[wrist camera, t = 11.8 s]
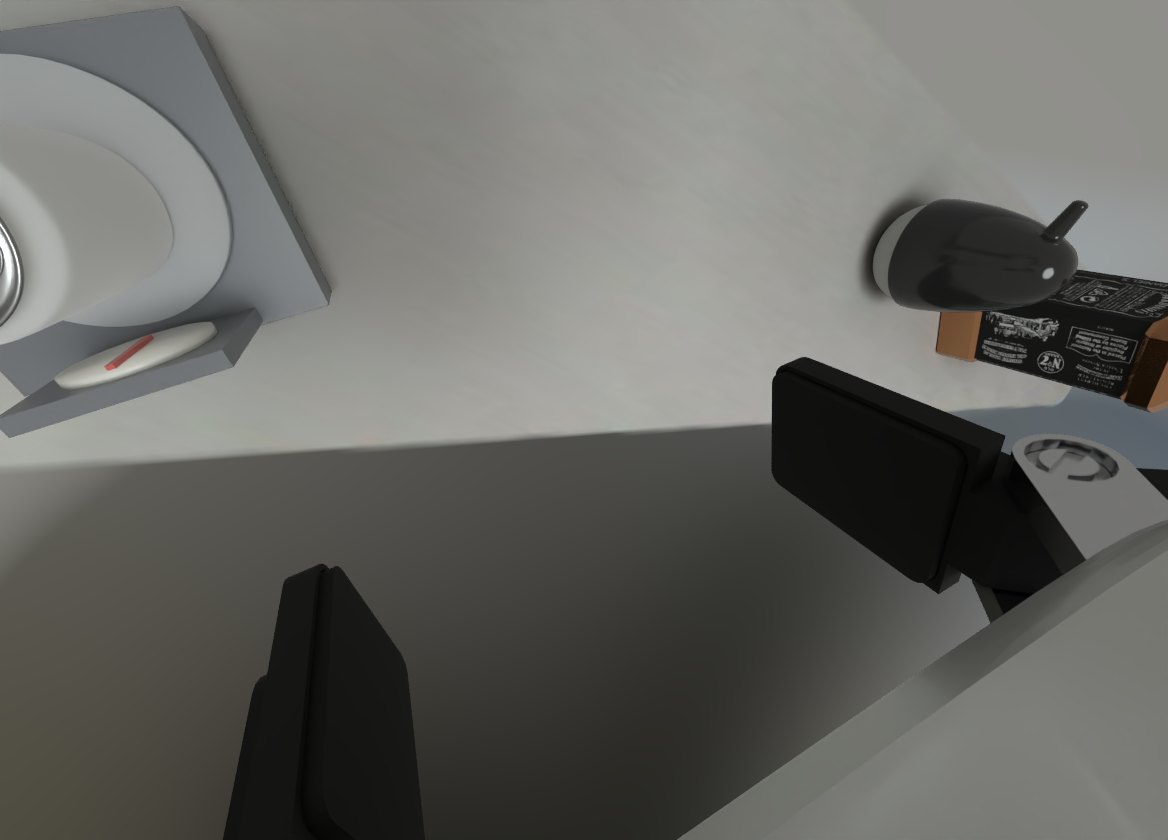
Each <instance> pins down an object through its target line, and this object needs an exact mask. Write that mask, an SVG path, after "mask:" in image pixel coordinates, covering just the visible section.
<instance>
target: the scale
mask: <svg viewBox="0 0 1168 840" xmlns="http://www.w3.org/2000/svg"><path fill="white" fill-rule="evenodd" d="M0 122H4V123H10V124H16V125H22V126H27V127H33V128H39V129H45V130H50V131H56V132H60V133H65V134H69V135H73V136H77V137H80V138H83V139H86V140H88V141H91V142H93V143H96V144H98V145H100V146H102V147H104V148H106V149H108V150H110V151H112V152H113V153H115V154H117V155H118V156H120V157H121V158H123V159H124V160H126V161H127V162H128V163H130V164H131V165H132V166H133V167H134V168H136V169H137V170H138V171H139V172H140V173H141V174H142V175H143V176H144V177H145V178H146V179H147V180H148V181H149V182H150V183H151V185H152V186H153V187H154V189H155V190H156V191H157V193H158V194H159V196H160V198H161V200H162V202H163V204H164V206H165V208H166V210H167V213H168V215H169V218H170V222H171V226H172V232H173V243H172V247H171V250H170V253H169V255H168V257H167V259H166V261H165V262H164V264H163V265H162V266H161V267H160V269H159V270H158V271H157V272H155V273H154V274H153V275H152V276H150V277H149V278H147V279H145V280H144V281H142V282H140V283H138V284H136V285H134V286H132V287H130V288H128V289H126V290H124V291H122V292H120V293H118V294H116V295H114V296H112V297H110V298H108V299H106V300H104V301H102V302H100V303H98V304H96V305H94V306H91V307H89V308H87V309H85V310H83V311H81V312H79V313H77V314H75V315H73V316H71V317H68V318H66V319H64V320H62V321H60V322H58V323H56V324H54V325H51V326H49V327H47V328H45V329H43V330H41V331H38V332H36V333H34V334H31V335H29V336H26V337H24V338H21V339H19V340H16V341H13V342H9V343H5V344H2V345H0V371H1V372H2V373H3V374H4V375H5V377H6V378H7V379H8V380H9V381H10V382H11V383H12V384H13V385H14V386H15V387H16V388H17V389H18V390H19V391H20V392H21V393H22V394H23V395H24V396H28V395H30V396H28V397H27V398H25V399H24V400H22V401H21V402H19V403H18V404H16V405H15V406H13V407H12V408H10V409H9V410H7V411H6V412H4V413H3V414H1V415H0V429H1V430H2V431H3V432H4V433H5V434H6V435H7V436H8V437H9V438H11V437H14V436H18V435H21V434H24V433H27V432H30V431H33V430H36V429H40V428H43V427H46V426H49V425H52V424H55V423H59V422H62V421H65V420H68V419H71V418H74V417H77V416H81V415H84V414H87V413H90V412H93V411H96V410H99V409H103V408H106V407H109V406H112V405H115V404H118V403H122V402H125V401H128V400H131V399H134V398H137V397H140V396H144V395H147V394H150V393H153V392H156V391H159V390H163V389H166V388H169V387H172V386H175V385H178V384H181V383H185V382H188V381H191V380H194V379H197V378H200V377H204V376H207V375H210V374H213V373H216V372H219V371H222V370H226V369H229V368H232V367H234V365H235V364H236V362H237V361H238V359H239V357H240V356H241V354H242V353H243V351H244V350H245V348H246V347H247V345H248V344H249V342H250V340H251V339H252V337H253V336H254V334H255V333H256V331H257V330H258V328H259V327H260V326H261V325H264V324H267V323H271V322H274V321H277V320H281V319H284V318H287V317H291V316H294V315H297V314H300V313H304V312H307V311H310V310H314V309H317V308H320V307H324V306H327V305H329V301H330V296H331V290H330V288H329V285H328V283H327V281H326V279H325V277H324V275H323V273H322V271H321V269H320V267H319V265H318V263H317V261H316V259H315V257H314V255H313V253H312V251H311V249H310V247H309V245H308V243H307V241H306V239H305V237H304V235H303V233H302V231H301V228H300V226H299V224H298V222H297V220H296V218H295V216H294V214H293V212H292V210H291V208H290V206H289V204H288V202H287V200H286V198H285V196H284V194H283V192H282V190H281V188H280V186H279V184H278V182H277V180H276V178H275V176H274V174H273V172H272V169H271V167H270V165H269V163H268V161H267V159H266V157H265V155H264V153H263V151H262V149H261V147H260V145H259V143H258V141H257V139H256V137H255V135H254V133H253V131H252V129H251V127H250V125H249V123H248V121H247V119H246V117H245V115H244V113H243V110H242V108H241V106H240V104H239V102H238V100H237V98H236V96H235V94H234V92H233V90H232V88H231V86H230V84H229V82H228V80H227V78H226V76H225V74H224V72H223V70H222V68H221V66H220V64H219V62H218V60H217V58H216V56H215V53H214V51H213V49H212V47H211V45H210V43H209V41H208V39H207V37H206V35H205V33H204V31H203V29H202V28H201V27H200V26H198V25H197V24H196V23H195V22H194V21H193V20H192V19H191V18H190V17H189V16H188V15H187V14H186V13H185V12H184V11H183V10H182V9H181V8H180V7H179V6H176V7H169V8H162V9H155V10H148V11H141V12H134V13H126V14H119V15H112V16H105V17H98V18H91V19H84V20H77V21H70V22H63V23H55V24H48V25H41V26H34V27H27V28H20V29H13V30H6V31H0Z"/></svg>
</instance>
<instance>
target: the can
mask: <svg viewBox="0 0 1168 840" xmlns="http://www.w3.org/2000/svg"><path fill="white" fill-rule="evenodd" d="M172 243H173V232H172V226H171V222H170V218H169V215H168V213H167V210H166V208H165V206H164V204H163V202H162V200H161V198H160V196H159V194H158V193H157V191H156V190H155V189H154V187H153V186H152V185H151V183H150V182H149V181H148V180H147V179H146V178H145V177H144V176H143V175H142V174H141V173H140V172H139V171H138V170H137V169H136V168H134V167H133V166H132V165H131V164H130V163H128V162H127V161H126V160H124V159H123V158H121V157H120V156H118V155H117V154H115V153H113V152H112V151H110V150H108V149H106V148H104V147H102V146H100V145H98V144H96V143H93V142H91V141H88V140H86V139H83V138H80V137H77V136H73V135H69V134H65V133H60V132H56V131H50V130H45V129H39V128H33V127H27V126H22V125H16V124H10V123H4V122H0V345H2V344H5V343H9V342H13V341H16V340H19V339H21V338H24V337H26V336H29V335H31V334H34V333H36V332H38V331H41V330H43V329H45V328H47V327H49V326H51V325H54V324H56V323H58V322H60V321H62V320H64V319H66V318H68V317H71V316H73V315H75V314H77V313H79V312H81V311H83V310H85V309H87V308H89V307H91V306H94V305H96V304H98V303H100V302H102V301H104V300H106V299H108V298H110V297H112V296H114V295H116V294H118V293H120V292H122V291H124V290H126V289H128V288H130V287H132V286H134V285H136V284H138V283H140V282H142V281H144V280H145V279H147V278H149V277H150V276H152V275H153V274H154V273H155V272H157V271H158V270H159V269H160V267H161V266H162V265H163V264H164V262H165V261H166V259H167V257H168V255H169V253H170V250H171V247H172Z"/></svg>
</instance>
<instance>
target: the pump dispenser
mask: <svg viewBox="0 0 1168 840" xmlns="http://www.w3.org/2000/svg"><path fill="white" fill-rule="evenodd" d="M1087 208H1088V204H1087V203H1086V202H1084V201H1080V200H1077V201H1074V202H1072V203H1071V204H1070V205H1069V206H1068V207H1067V208H1066V209H1065V210H1064V211H1063V212H1062V213H1061V214H1060V215H1059V216H1058V217H1057V218H1056V219H1055V220H1054V221H1053V222H1052V223H1051V224H1050V225H1049V226H1048V227H1047V226H1045V225H1043V224H1041V223H1039V222H1037V221H1035V220H1033V219H1031V218H1029V217H1027V216H1024V215H1022V214H1019V213H1016V212H1013V211H1010V210H1007V209H1004V208H1001V207H997V206H993V205H989V204H984V203H979V202H973V201H967V200H960V199H941V200H937V201H934V202H932V203H930V204H927V205H923V206H920V207H917V208H914V209H912V210H910V211H908V212H906V213H905V214H903V215H902V216H900V217H899V218H898V219H896V220H895V221H894V222H893V223H892V224H891V225H890V226H889V227H888V228H887V230H886V231H885V232H884V234H883V235H882V237H881V239H880V241H879V243H878V245H877V247H876V250H875V254H874V258H873V274H874V278H875V280H876V283H877V285H878V286H879V288H880V289H881V290H882V291H883V292H884V293H885V294H886V295H887V296H889V297H890V298H892V299H893V300H894V301H895V302H896V303H897V304H899V305H900V306H903V307H907V308H911V309H917V310H925V311H935V312H952V313H967V312H984V311H995V310H1003V309H1010V308H1016V307H1021V306H1026V305H1030V304H1034V303H1037V302H1041V301H1044V300H1046V299H1049V298H1051V297H1053V296H1054V295H1056V294H1058V293H1059V292H1060V291H1062V290H1063V289H1064V288H1065V287H1066V286H1067V285H1068V284H1069V283H1070V281H1071V280H1072V279H1073V277H1074V275H1075V273H1076V270H1077V267H1078V256H1077V252H1076V250H1075V249H1074V247H1073V246H1072V245H1071V244H1070V243H1069V242H1068V241H1067V240H1066V239H1065V238H1064V237H1065V235H1066V234H1067V233H1068V231H1069V230H1070V229H1071V228H1072V226H1073V225H1074V224H1075V223H1076V222H1077V220H1078V219H1079V218H1080V217H1081V215H1082V214H1083V213H1084V212H1085V211H1086V209H1087Z"/></svg>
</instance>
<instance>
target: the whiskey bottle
mask: <svg viewBox="0 0 1168 840" xmlns="http://www.w3.org/2000/svg"><path fill="white" fill-rule="evenodd" d="M937 352H938V353H939V354H941V355H944V356H948V357H952V358H956V359H960V360H964V361H968V362H974V361H977V360H979V361H982V362H986V363H990V364H993V365H997V366H1001V367H1004V368H1008V369H1012V370H1015V371H1019V372H1023V373H1026V374H1030V375H1033V376H1037V377H1041V378H1044V379H1048V380H1052V381H1055V382H1059V383H1063V384H1066V385H1070V386H1074V387H1078V388H1081V389H1085V390H1088V391H1092V392H1096V393H1099V394H1103V395H1107V396H1110V397H1114V398H1118V399H1121V400H1122V401H1123V402H1124V403H1125V404H1126V405H1127V406H1129V407H1133V408H1136V409H1140V410H1143V411H1147V412H1150V413H1152V412H1157V411H1160V410H1162V409H1165V408H1167V407H1168V283H1163V282H1156V281H1150V280H1143V279H1136V278H1129V277H1123V276H1116V275H1109V274H1103V273H1096V272H1090V271H1083V270H1076V273H1075V275H1074V277H1073V279H1072V280H1071V281H1070V283H1069V284H1068V285H1067V286H1066V287H1065V288H1064V289H1063V290H1062V291H1060V292H1059V293H1058V294H1056V295H1054V296H1053V297H1051V298H1049V299H1046V300H1044V301H1041V302H1037V303H1034V304H1030V305H1026V306H1021V307H1016V308H1010V309H1003V310H995V311H984V312H967V313H952V312H942V313H941V321H940V329H939V336H938V344H937Z"/></svg>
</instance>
